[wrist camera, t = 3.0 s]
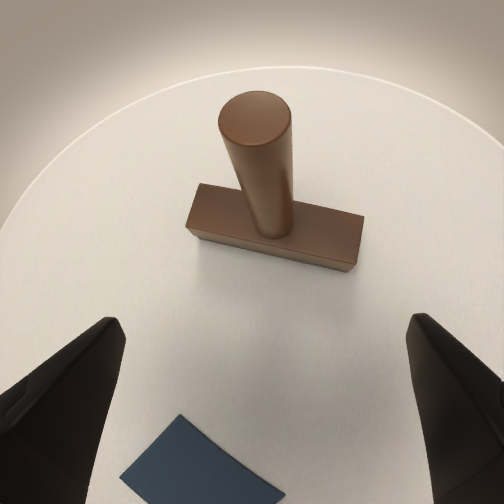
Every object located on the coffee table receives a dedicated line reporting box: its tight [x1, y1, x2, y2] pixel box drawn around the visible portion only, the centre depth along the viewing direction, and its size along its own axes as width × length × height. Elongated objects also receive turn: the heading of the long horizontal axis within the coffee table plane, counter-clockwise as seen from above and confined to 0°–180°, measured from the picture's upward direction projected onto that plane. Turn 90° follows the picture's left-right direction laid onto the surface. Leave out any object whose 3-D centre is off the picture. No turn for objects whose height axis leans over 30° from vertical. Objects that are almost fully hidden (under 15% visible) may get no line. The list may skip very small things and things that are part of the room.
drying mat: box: [119, 415, 285, 504], centre depth 18 cm, size 10×9×1 cm
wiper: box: [185, 91, 364, 272], centre depth 16 cm, size 3×11×14 cm, turn 75°
